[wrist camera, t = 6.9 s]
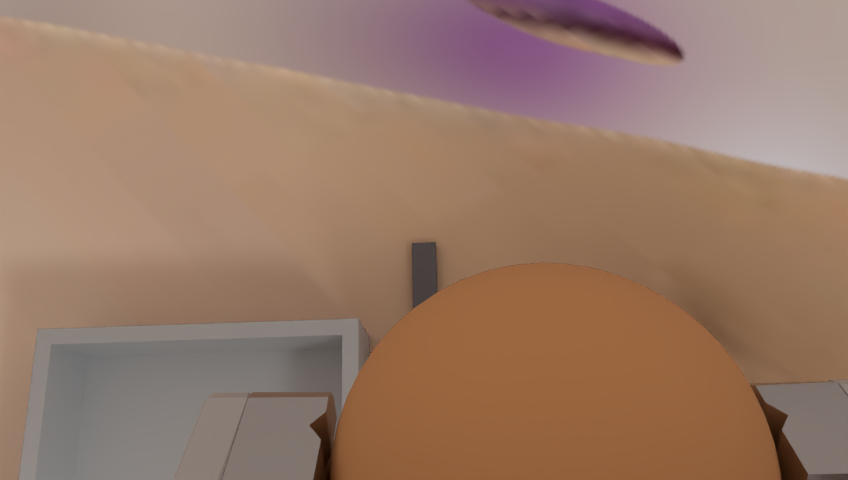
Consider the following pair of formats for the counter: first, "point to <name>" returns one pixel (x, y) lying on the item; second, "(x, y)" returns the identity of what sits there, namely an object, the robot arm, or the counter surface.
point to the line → (424, 272)
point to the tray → (166, 388)
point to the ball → (551, 388)
